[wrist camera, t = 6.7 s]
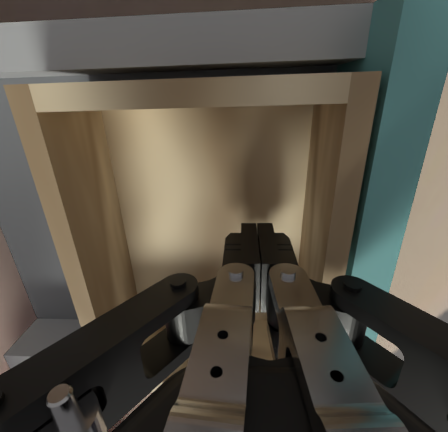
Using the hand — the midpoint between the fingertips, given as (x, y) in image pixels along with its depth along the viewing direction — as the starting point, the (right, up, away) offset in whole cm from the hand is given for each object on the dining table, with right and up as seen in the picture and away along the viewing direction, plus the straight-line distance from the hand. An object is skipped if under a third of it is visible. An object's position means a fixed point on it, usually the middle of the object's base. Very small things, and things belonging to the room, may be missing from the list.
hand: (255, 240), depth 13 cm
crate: (-2, +1, +2) cm, 3 cm away
